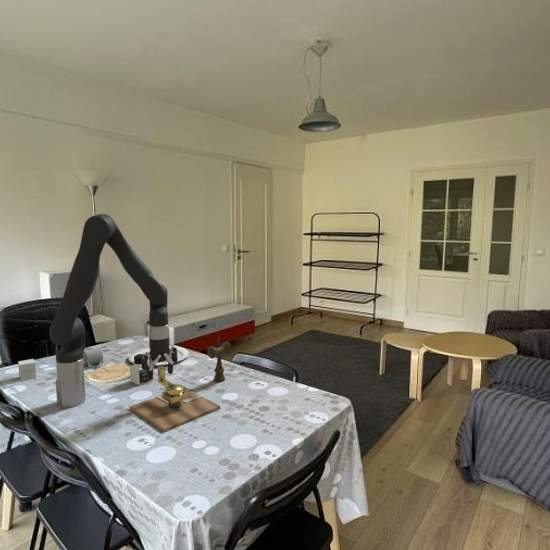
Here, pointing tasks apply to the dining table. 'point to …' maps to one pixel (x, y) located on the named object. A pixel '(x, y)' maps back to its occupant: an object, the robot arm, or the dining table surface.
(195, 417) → the post base
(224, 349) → the kendama
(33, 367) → the product box
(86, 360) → the ceramic mug
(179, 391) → the gold piece
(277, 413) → the dining table surface
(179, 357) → the plated food
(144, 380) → the medicine bottle
